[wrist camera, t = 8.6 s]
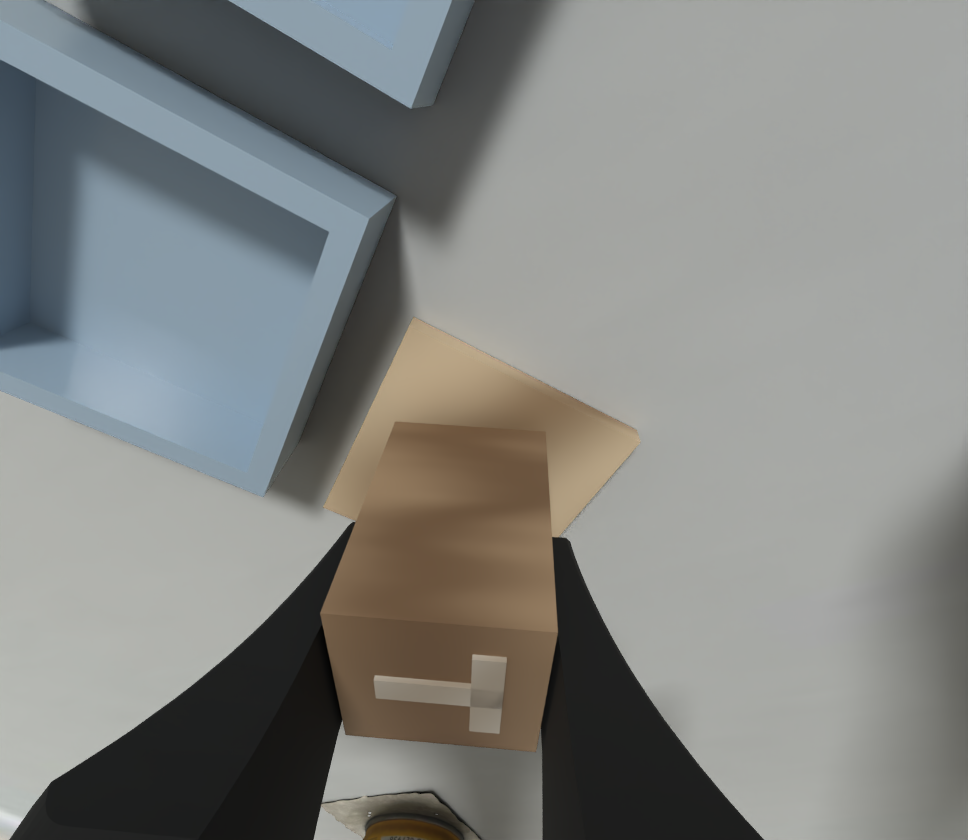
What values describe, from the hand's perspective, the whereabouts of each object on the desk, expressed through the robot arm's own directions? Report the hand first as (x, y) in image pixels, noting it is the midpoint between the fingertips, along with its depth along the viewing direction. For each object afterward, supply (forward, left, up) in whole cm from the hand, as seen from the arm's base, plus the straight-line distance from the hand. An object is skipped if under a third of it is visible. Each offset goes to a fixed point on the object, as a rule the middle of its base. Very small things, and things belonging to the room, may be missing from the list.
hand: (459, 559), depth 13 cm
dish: (+9, -2, -4) cm, 10 cm away
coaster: (0, 0, -4) cm, 4 cm away
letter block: (0, 0, -3) cm, 3 cm away
